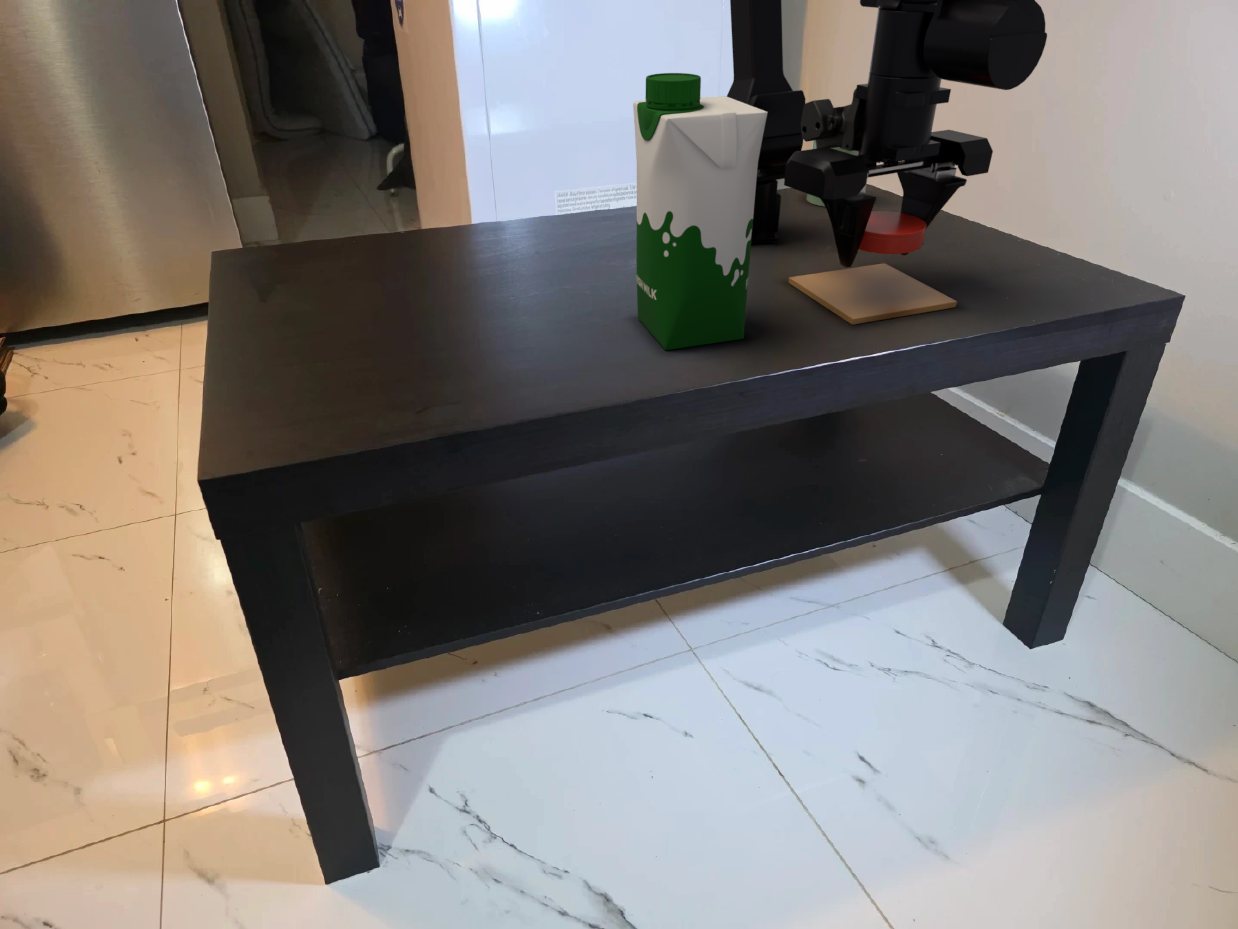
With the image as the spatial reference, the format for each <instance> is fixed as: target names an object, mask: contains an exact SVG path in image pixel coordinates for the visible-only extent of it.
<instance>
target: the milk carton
mask: <svg viewBox="0 0 1238 929" xmlns="http://www.w3.org/2000/svg"><path fill="white" fill-rule="evenodd" d="M701 87H702V78H701V76H700V75H698V74H695V73H687V72H686V73H684V72H663V73H654V74H649V75H646V77H645V97H644V98H645V99H644V100H642V99H641V100H635V101H633V103H632V108H633V110H632V111H633V122H634V123H633V124H634V139H635V141H634V142H635V155H636V156H635V158H636V159H635V160H636V297H637V300H636V301H637V302H636V303H637V319H638V321H640V323H641V324H642V325H643V326H644V328H645V329H646V330H647V331H648V332H649V333H650V334H651V336H652V337H653V338H654V339H655V340H656V341H657V342H658V344H659V345H660V346H661V347H662V348H663V349H664V350H665V351H669V350H676V349H677V350H678V349H683V348H684V349H685V348H689V347H696V346H697V347H698V346H704V345H709V344H717V343H724V342H731V341H736V340H742V339H744V338H745V326H746V312H747V298H748V287H749V275H750V273H749V272H750V263H751V262H750V260H751V248H752V243H751V238H752V226H753V214H754V202H755V190H756V178H757V167H758V159H759V154H760V148H761V143H762V138H763V133H764V128H765V123H766V118H767V113H768V112H766V111H764V110H761V109H758V108H756V107H753V106H750V105H748V104H745V103H742V102H740V101H737V100H734V99H732V98H729V97H727V95H722V96H719V95H718V96H707V97H705V96H703V97H701Z"/></svg>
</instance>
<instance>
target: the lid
mask: <svg viewBox="0 0 1238 929" xmlns="http://www.w3.org/2000/svg"><path fill="white" fill-rule="evenodd" d="M926 230H927V229H926V223H925V222H924V221H923V220H922V219H920V218H918V217H915V216H912V215H909V214H904V213H901V212H898V211H889V210H872V212H871V215H870V218H869V221H868V223H867V226H866V229H865V232H864V235H863V238H862V241H861V244H860V247H859V250H858V251H863V252H866V253H872V254H878V255H879V254H881V255H901V254H902V253H908V254H910V253H913V252H916V251H918V250H919V249H921V248H922V246H923V245H924V241H925V240H924V239H925V235H926Z"/></svg>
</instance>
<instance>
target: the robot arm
mask: <svg viewBox="0 0 1238 929" xmlns="http://www.w3.org/2000/svg"><path fill="white" fill-rule="evenodd" d="M782 3H783V2H782V0H729V5H730V27H731V28H730V29H731V47H732V49H731V50H732V70H733V81H732V84H731V85H730V88H729V90H728V92H727V95H726V97H729V98H732V99H734V100H737V101H740V102H742V103H745V104H748V105H750V106H753V107H756V108H758V109H761V110H764V111H766V112H768V113H767V118H766V123H765V128H764V133H763V138H762V143H761V148H760V154H759V159H758V167H757V178H756V190H755V202H754V214H753V226H752V238H751V244H764V243H766V244H767V243H776V242H778V236H777V235H776V234H775V233H777V232H778V231H779V226H780V216H781V215H780V214H781V205H782V204H781V203H782V194H780V192H778V186H779V185H778V184H779V180H783V186H785V187H787V188H791V189H793V190H796V191H798V192H801V193H804V194H806V195H807V194H810V195H812V196H815V197H818V198H820V199H821V201H822V202H823V203H824V205H825V209H826V212H827V215H828V218H829V220H830V225H831V229H832V233H833V238H834V243H835V247H836V251H837V255H838V260H839V264H840V265H841V266H842V267H844V268H845V269H849V268H852V266H853V264H854V262H855V259H856V257H857V255H858V252H859V251H860V250H859V247H860V244H861V241H862V238H863V235H864V232H865V229H866V226H867V223H868V221H869V218H870V215H871V212H872V211H873V209H874V206H875V204H876V201H877V196H876V195H872V194H870V193H868V192H866V190H867V183H868V178H874V177H879V176H880V177H881V176H886V175H887V176H888V175H894V174H896V175H897V177H898V180H899V183H900V186H901V189H902V200H901V206H900V207H901V208H900V213H904V214H909V215H912V216H915V217H918V218H920V219H922V220H923V221H924V222H925V223H926V230H927V228H929V226H930V225H931V224H932V222H933V221H934V219H935V218H936V217H937V215H938V214H939V213H940V212H941V210H942V209H943V208H944V207H945V206H946V204H947V203H948V202H949V201H950V200H951V198H952V197H953V196H954V194H955V193H956V192H957V191H958V190H959V188H961V187H965V186H966V184H967V181H968V179H967V178H964V177H971V176H977V175H983V174H988V173H989V170H990V165H991V161H992V157H993V153H994V150H993V148H992V145H991V143H990V141H989V139H988V137H983V136H980V135H976V134H975V135H974V134H971V133H967V132H966V133H965V132H961V131H957V130H953V129H945V130H944V129H943V130H937V131H933V126H934V122H935V116H936V110H937V105H939V104H948V103H949V102H950V97H951V92H952V89H951V88H948V87H947V88H946V87H941V84H942V80H944V81H948V82H955V83H960V84H966V85H972V86H979V87H983V88H984V87H985V88H991V89H996V90H1003V91H1009V90H1012V89H1015V88H1017V87H1019V86H1021V85H1022V84H1023V83H1024V82H1025V81H1026V80H1027V79H1028V78H1029V77H1030V76H1031V75H1032V73H1034V70H1035V69H1036V67H1037V66H1038V64H1039V62H1040V60H1041V58H1042V56H1043V53H1044V51H1045V47H1046V44H1047V39H1048V33H1047V32H1046V18H1045V13H1044V11H1043V8H1042V6H1041V5H1040V4H1039V3H1038V1H1036V0H859V4H860V6H861V7H863V8H875V9H877V16H876V23H875V31H874V36H873V44H872V50H871V59H870V65H869V72H868V79H867V83H860V84H856V88H855V89H854V90H853V92H852V93H853V94H852V100H851V103H850V104H847V105H844V106H834V105H833V103H832V101H831V99H830V98H824V99H814V100H811V101H808V102H806V96H805V92H804V91H803V90H802V89H799V90H794V89H793V87H792V86H791V84H790V82H789V80H788V78H787V77H786V75H785V72H784V71H785V70H784V44H783V43H784V42H783V39H784V38H783V5H782ZM815 140H816V148H817V149H812V148H811V149H804V150H803V145H804V142H806V143H808V142H813V141H815ZM836 147H840V148H841V149H845V150H848V151H854V150H855V151H858V152H859V153H858V155H857V156H856V155H852V154H849V153H845V152H842V151H838V150H835V149H831V148H836ZM881 163H882V164H881ZM956 166H957V167H956ZM957 169H958V170H959V173H960V174H961V175H962V176H964V177H961V176H958V175H956V173H957ZM900 255H901V256H907V255H909V253H902V254H900Z"/></svg>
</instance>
